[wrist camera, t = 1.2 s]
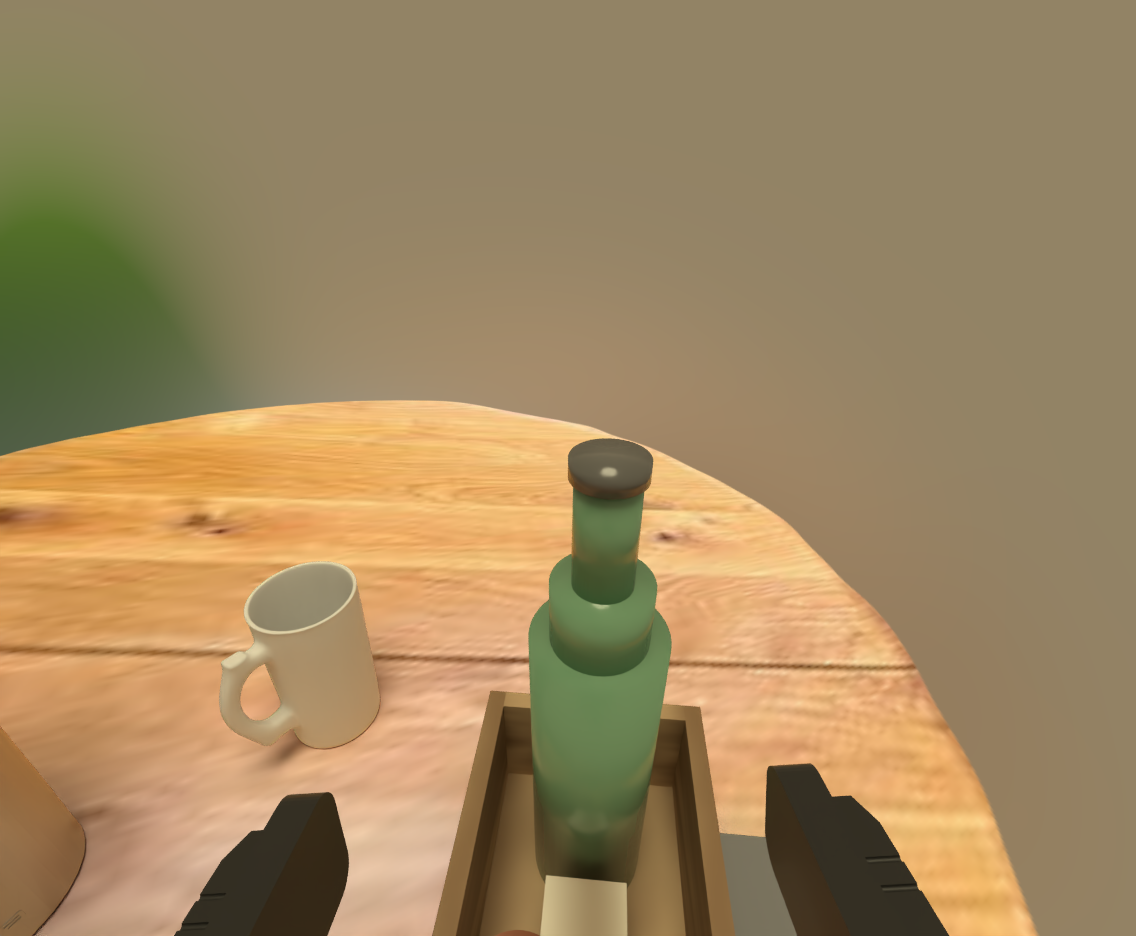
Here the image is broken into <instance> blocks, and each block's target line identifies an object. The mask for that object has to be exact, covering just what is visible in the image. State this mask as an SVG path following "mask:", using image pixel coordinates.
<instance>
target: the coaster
mask: <svg viewBox="0 0 1136 936" xmlns="http://www.w3.org/2000/svg"><path fill="white" fill-rule="evenodd" d="M720 839H721V846H722V852H723V859H724V865H725V872H726V878H727V885H728V891H729V898H730V904H731V910H732V917H733V923H734V930H735V936H797V934H796V931H795V928H794V926H793V923H792V920H791V918H790V915H789V912H788V909H787V907H786V904H785V901H784V899H783V896H782V893H781V890H780V888H779V885H778V882H777V880H776V877H775V874H774V871H773V868H772V865H771V861H770V858H769V853H768V848H767V843H766V837H757V836H746V835H735V834H724V833H720Z"/></svg>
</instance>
